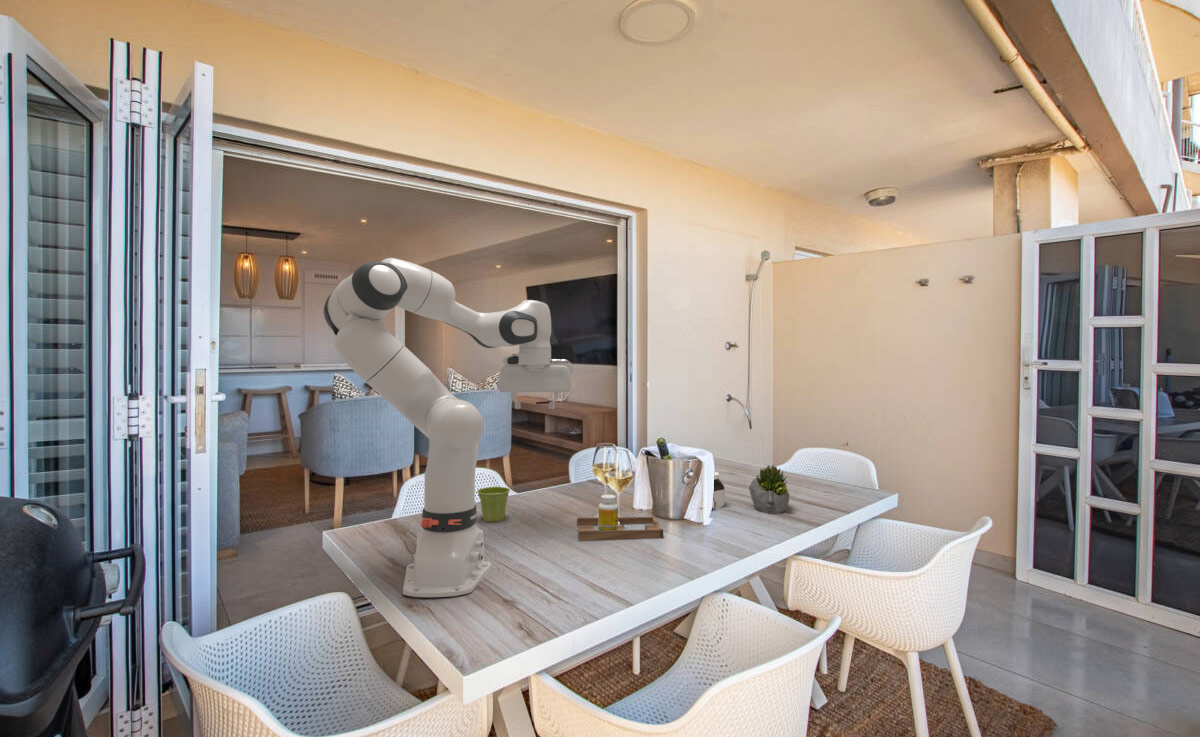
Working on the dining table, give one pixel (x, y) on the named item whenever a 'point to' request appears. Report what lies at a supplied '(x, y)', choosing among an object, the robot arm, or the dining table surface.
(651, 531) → the frame
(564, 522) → the dining table surface
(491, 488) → the plant pot
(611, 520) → the supplement bottle
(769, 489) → the potted plant
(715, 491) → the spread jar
